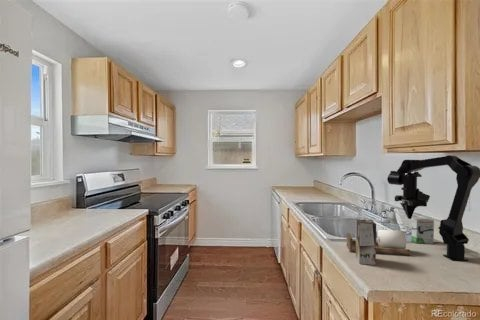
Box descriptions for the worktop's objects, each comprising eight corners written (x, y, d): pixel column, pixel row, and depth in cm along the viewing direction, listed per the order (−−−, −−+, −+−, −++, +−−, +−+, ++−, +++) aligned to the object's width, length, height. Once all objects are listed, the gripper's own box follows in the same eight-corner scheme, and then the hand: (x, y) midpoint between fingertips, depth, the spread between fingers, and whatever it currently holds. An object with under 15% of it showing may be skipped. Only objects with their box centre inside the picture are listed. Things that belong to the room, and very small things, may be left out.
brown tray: (402, 248, 142) (402, 235, 142) (409, 256, 131) (410, 242, 131) (346, 245, 147) (346, 232, 147) (349, 252, 136) (350, 238, 136)
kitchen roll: (401, 246, 141) (401, 229, 141) (406, 251, 133) (406, 233, 133) (376, 245, 143) (377, 227, 143) (381, 250, 135) (381, 232, 135)
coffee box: (376, 265, 120) (376, 223, 120) (358, 264, 121) (359, 223, 121) (371, 257, 129) (371, 219, 129) (355, 256, 130) (355, 218, 130)
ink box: (416, 243, 151) (416, 219, 151) (411, 240, 156) (411, 217, 156) (434, 243, 151) (434, 219, 151) (428, 241, 156) (428, 217, 155)
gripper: (439, 188, 137) (438, 223, 137) (416, 184, 156) (416, 215, 156) (413, 187, 137) (413, 222, 137) (394, 184, 156) (393, 215, 156)
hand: (409, 218), depth 147 cm, fingers closed
